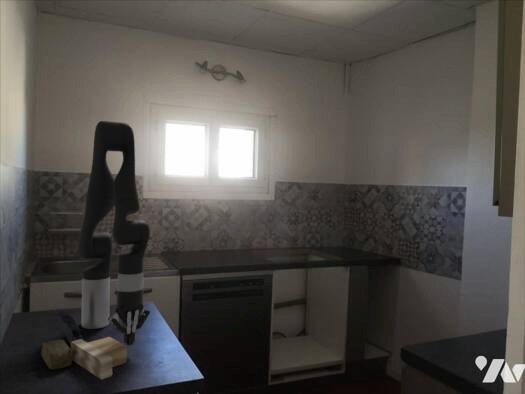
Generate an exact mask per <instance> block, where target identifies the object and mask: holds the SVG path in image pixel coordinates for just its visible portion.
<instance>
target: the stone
mask: <svg viewBox="0 0 525 394" xmlns="http://www.w3.org/2000/svg"><path fill="white" fill-rule="evenodd" d="M54 316H55V318H56V321H57V322H58V324H59V325H60V327H61V329H62V330H63V332H64V334H65V336H66V339H67V341H68V343H69V344H70V345H71V342H72V341H76V340H80V339H82V340H84V341H85V338H84V337H83V335H81V328H80V327H79V326H78V323H77V322H76V319H74V318H73V317H72V316H71V315H69V314H68V313H66V312H65V311H64V310H63V309H59V310H58V311H56V312H55V315H54Z"/></svg>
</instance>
